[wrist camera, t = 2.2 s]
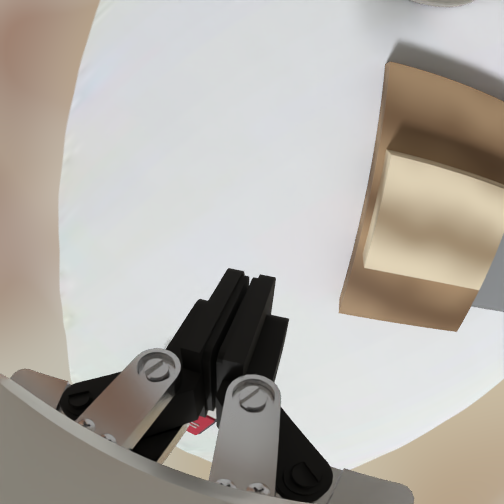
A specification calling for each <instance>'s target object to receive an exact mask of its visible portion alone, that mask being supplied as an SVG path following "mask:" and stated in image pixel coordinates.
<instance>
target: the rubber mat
mask: <svg viewBox="0 0 504 504" xmlns="http://www.w3.org/2000/svg"><path fill="white" fill-rule="evenodd" d="M471 306H472V307H478V308H484V309H490V310H496V311H502V312H504V234H503V236H502V239H501V242H500V244H499V247H498V249H497V252H496V254H495V257H494V259H493V261H492V264H491V266H490V268H489V270H488V273H487V275H486V277H485V279H484V281H483V283H482V286H481V288H480V290H479V292H478V294H477V296H476V298H475V299H474V301H473V303H472V305H471Z"/></svg>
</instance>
